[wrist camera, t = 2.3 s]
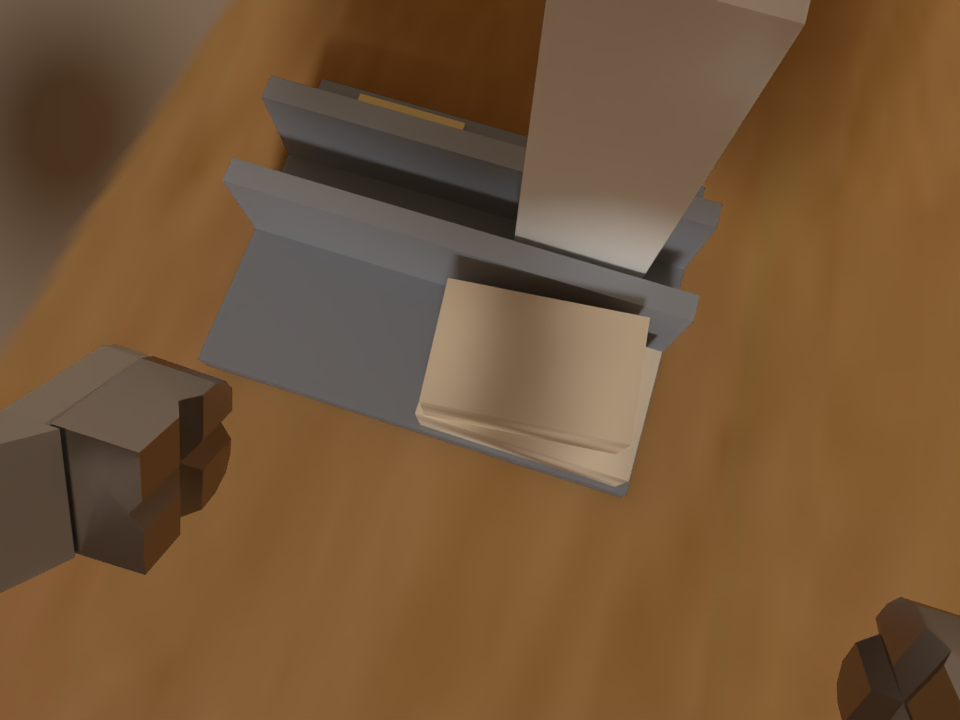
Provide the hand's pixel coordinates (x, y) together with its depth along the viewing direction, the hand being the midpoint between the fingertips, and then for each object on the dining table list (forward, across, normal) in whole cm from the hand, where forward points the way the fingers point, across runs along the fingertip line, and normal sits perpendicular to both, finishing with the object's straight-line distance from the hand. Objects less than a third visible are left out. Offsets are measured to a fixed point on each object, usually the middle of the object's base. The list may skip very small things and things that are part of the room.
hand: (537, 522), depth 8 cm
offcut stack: (+17, 0, +9) cm, 19 cm away
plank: (+21, 0, +5) cm, 22 cm away
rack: (+21, +5, +6) cm, 22 cm away
